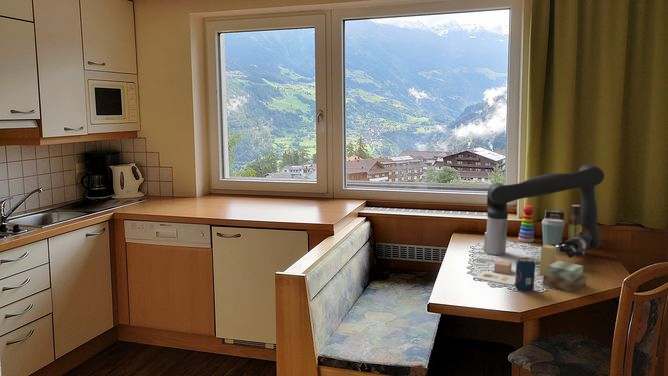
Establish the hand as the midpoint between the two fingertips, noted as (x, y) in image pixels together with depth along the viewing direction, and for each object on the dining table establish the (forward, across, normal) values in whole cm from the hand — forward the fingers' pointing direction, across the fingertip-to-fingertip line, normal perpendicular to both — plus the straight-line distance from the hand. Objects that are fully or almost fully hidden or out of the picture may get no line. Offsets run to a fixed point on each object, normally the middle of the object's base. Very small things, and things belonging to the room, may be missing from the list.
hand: (559, 253), depth 250 cm
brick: (+21, -15, +7) cm, 27 cm away
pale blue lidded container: (-45, -22, +7) cm, 51 cm away
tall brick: (+11, 0, +7) cm, 13 cm away
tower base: (+20, +11, +7) cm, 24 cm away
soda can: (+36, +2, +7) cm, 37 cm away
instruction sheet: (+31, -12, +7) cm, 34 cm away
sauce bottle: (-48, -12, +7) cm, 50 cm away
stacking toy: (-36, -32, +7) cm, 49 cm away
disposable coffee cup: (-30, -16, +7) cm, 35 cm away
